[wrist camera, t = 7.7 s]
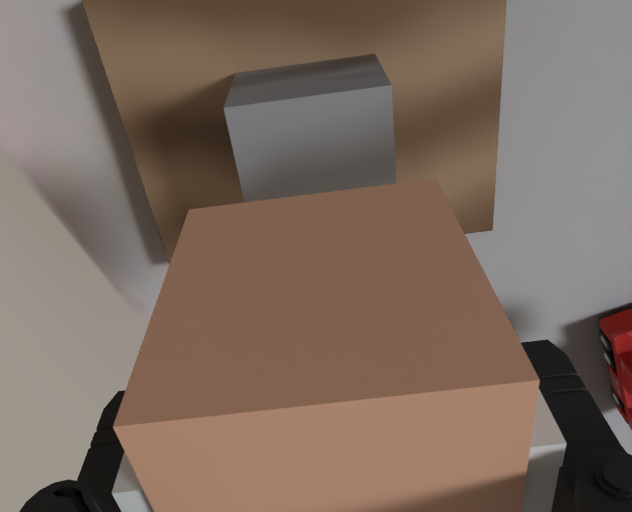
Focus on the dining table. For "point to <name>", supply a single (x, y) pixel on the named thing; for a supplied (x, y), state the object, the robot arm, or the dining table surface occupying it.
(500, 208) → the dining table surface
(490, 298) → the terracotta brick
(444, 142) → the board
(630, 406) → the toy fire truck
